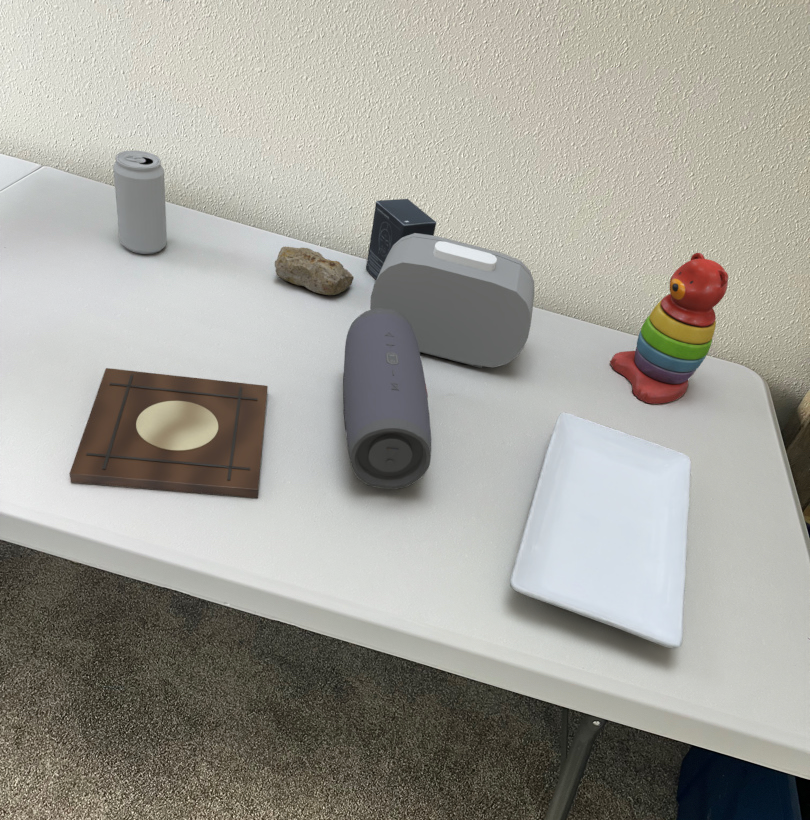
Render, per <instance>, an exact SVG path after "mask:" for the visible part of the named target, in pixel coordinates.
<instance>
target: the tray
mask: <svg viewBox="0 0 810 820" xmlns="http://www.w3.org/2000/svg"><path fill="white" fill-rule="evenodd" d="M691 474H692V460H691V458H690V456H688V455H687V454H685V453H684V452H682V451H679V450H676V449H673V448H670V447H668V446H664V445H661V444H658V443H656V442H653V441H649V440H647V439H644V438H641V437H638V436H636V435H632V434H631V433H630V434H629V433H627V432H624V431H622V430H618V429H616V428H614V427H613V428H612V427H609V426H607V425H604V424H601V423H598V422H595V421H592V420H589V419H586V418H584V417H581V416H578V415H575V414H572V413H569V412H564V411H563V412H560V414H558V417H557V419H556V421H555V423H554V427H553V431H552V434H551V437H550V441H549V444H548V447H547V450H546V453H545V456H544V459H543V462H542V466H541V468H540V472H539V476H538V479H537V482H536V485H535V490H534V494H533V497H532V501H531V503H530V507H529V511H528V515H527V518H526V522H525V526H524V530H523V533H522V537H521V540H520V544H519V547H518V551H517V554H516V558H515V561H514V564H513V568H512V571H511V576H510V579H509V584H510V587H511V588H512V590H514V591H515V592H517V593H518V594H521V595H523V596H526V597H528V598H532V599H534V600H538V601H541V602H543V603H546V604H548V605H551V606H555V607H557V608H560V609H563V610H566V611H569V612H571V613H573V614H577V615H580V616H581V617H585V618H588V619H590V620H594V621H596V622H599V623H602V624H604V625H608V626H610V627H613V628H616V629H618V630H620V631H622V632H623V631H624V632H626V633H629V634H631V635H634V636H636V637H639V638H641V639H643V640H647V641H649V642H652V643H653V644H657V645H660V646H662V647H665V648H668V649H679V648H680V647H681V646H682V643H683V637H684V615H685V614H684V613H685V611H684V610H685V591H686V590H685V589H686V573H687V571H686V570H687V553H688V551H687V550H688V531H689V530H688V528H689V509H690V491H691Z"/></svg>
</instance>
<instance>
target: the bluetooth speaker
mask: <svg viewBox="0 0 810 820" xmlns="http://www.w3.org/2000/svg"><path fill="white" fill-rule="evenodd" d="M423 368H424V366H423V363H422V357H421V352H419V348H418V343H417V340H416V337H415V334H414V331H413V329H412V327H411V325H410V323H409V322H408V320H407V319H406V318H405V317H404V316H403V315H402V314H400V313H399V312H396V311H394V310H391V309H386V308H377V309H371V310H370V309H368V310H365V311H364V312H363V313H361V314H359V316H357V317H356V318H355V319H354V321H352V323H351V325H350V326H349V328H348V330H347V334H346V339H345V344H344V359H343V373H342V375H343V379H342V401H343V404H342V405H343V406H342V407H343V423H344V430H345V435H346V444H347V445H346V448H347V452H348V459H349V461H350V462H349V463H350V466H351V469H352V471H353V473H354V475H355V476H356V477H357V478H358V480H360V481H361V482H362V483H364V484H366V485H368V486H369V487H373V488H380V489H391V490H392V489H393V490H394V489H403V488H406V487H409V486H411V485H413V484H415V483H416V482H418V481H419V480H420V479H422V477H423V476H425V474H426V473H427V471H428V470H429V467H430V465H431V459H432V458H431V457H432V433H431V420H430V419H431V417H430V409H429V399H428V398H429V395H428V389H427V385H426V378H425V372H424V369H423Z"/></svg>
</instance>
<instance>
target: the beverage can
mask: <svg viewBox="0 0 810 820" xmlns="http://www.w3.org/2000/svg"><path fill="white" fill-rule="evenodd" d="M114 160H115V162H114V163H113V165H112V171H113V180H114V181H113V182H114V192H115V193H114V195H115V206H116V215H117V216H116V217H117V229H118V241H119V243H120V244H121V245H122V246H123V247H125V248H126V249H127V250H128V251H130V252H132V253H135V254H140V255H152V254H156V253H159V252H160V251H162V249H164V248H165V247H166V246H167V243H168V235H167V233H168V232H167V231H168V230H167V211H166V210H167V209H166V185H165V182H166V181H165V170H164V167H163V166H162V160H161V158H160V157H159V156H157V155H156V154H153V153H151V152H147V151H142V150H124V151H121V152H120V151H119V152H118V153H117V154H116V155H115V159H114Z"/></svg>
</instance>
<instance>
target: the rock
mask: <svg viewBox="0 0 810 820" xmlns="http://www.w3.org/2000/svg"><path fill="white" fill-rule="evenodd" d="M274 267H275V274H276V276H277V277H279V278H280V279H282V280H283V281H285V282H288V283H290V284H293V285H295V286H302V287H305V288H306V289H307V290H309V291H311V292H313V293H316V294H319V295H325V296H335V295H339V294H341V293H343V292H345V291H346V290H347V289H348V288H350V287H351V285H352V284H353V281H354V276H353V274H352V273H350V271H349V270H348V269H346V268H345V267H344V265H343V264H342V263H341V262H340V261H338V260H331V259H329V258H325V257H324V256H323V254H321V252H319V251H314V250H313V249H311V248H308V247H293V246H282V247H281V248H280V250H279V251H278V254H277V258H276V260H275V261H274Z"/></svg>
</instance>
